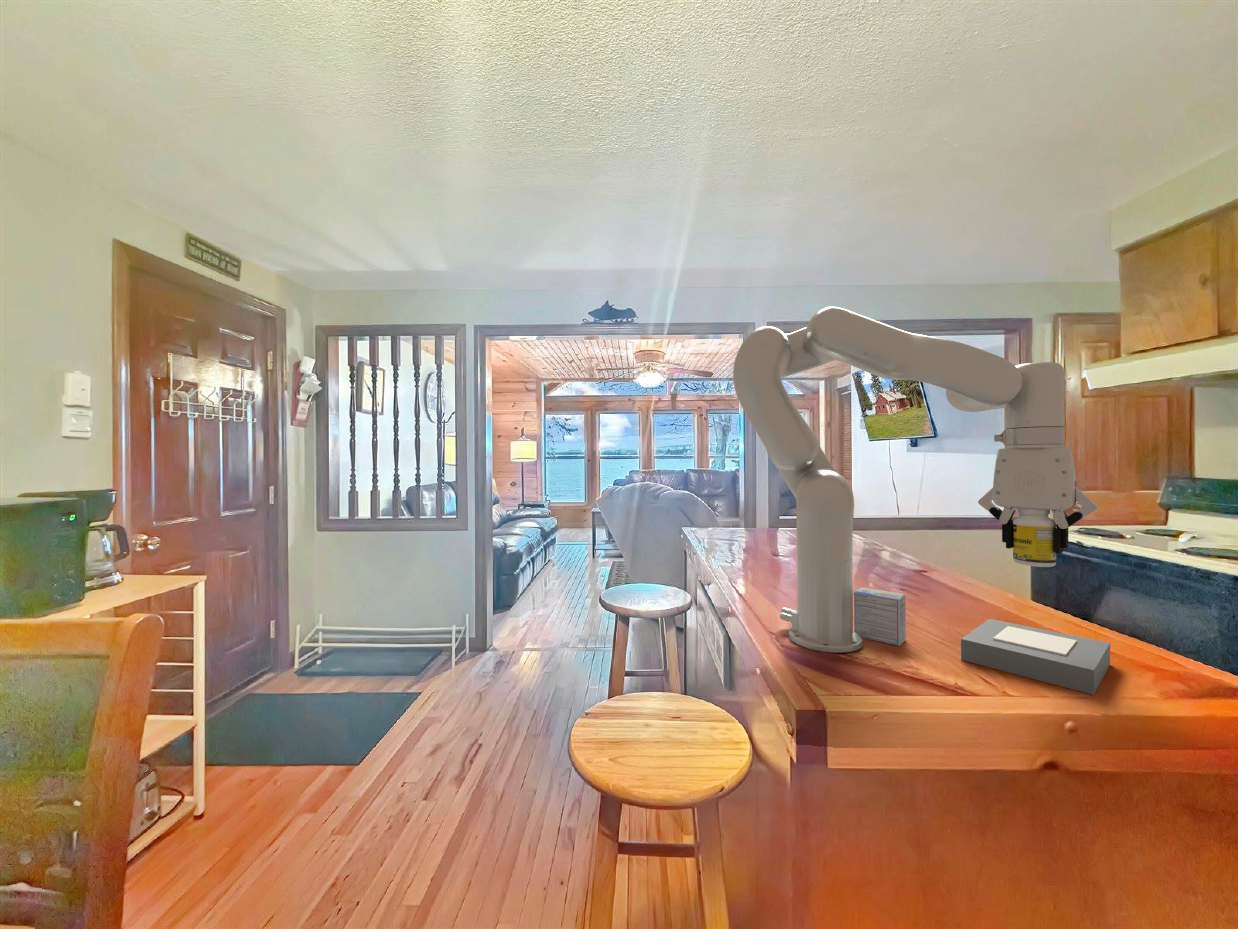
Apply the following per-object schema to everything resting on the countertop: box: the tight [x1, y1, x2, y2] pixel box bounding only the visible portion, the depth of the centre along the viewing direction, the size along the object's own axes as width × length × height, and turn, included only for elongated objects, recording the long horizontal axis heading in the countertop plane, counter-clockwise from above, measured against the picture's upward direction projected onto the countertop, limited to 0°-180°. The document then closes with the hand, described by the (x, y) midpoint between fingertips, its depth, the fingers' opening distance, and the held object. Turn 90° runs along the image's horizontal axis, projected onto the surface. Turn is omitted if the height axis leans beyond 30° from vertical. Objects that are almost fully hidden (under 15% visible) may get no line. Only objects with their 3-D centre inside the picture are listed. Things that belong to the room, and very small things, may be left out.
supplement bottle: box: [1012, 508, 1057, 568], centre depth 80 cm, size 5×5×10 cm
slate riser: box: [960, 618, 1111, 696], centre depth 80 cm, size 16×16×4 cm
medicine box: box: [853, 587, 907, 647], centre depth 91 cm, size 8×4×9 cm, turn 47°
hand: (1034, 548), depth 80 cm, fingers closed on supplement bottle, 5 cm apart
